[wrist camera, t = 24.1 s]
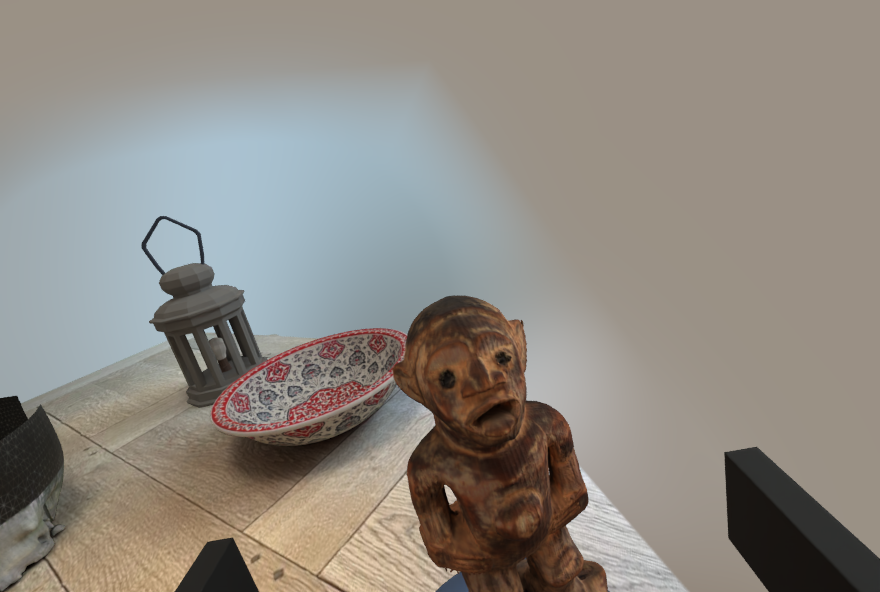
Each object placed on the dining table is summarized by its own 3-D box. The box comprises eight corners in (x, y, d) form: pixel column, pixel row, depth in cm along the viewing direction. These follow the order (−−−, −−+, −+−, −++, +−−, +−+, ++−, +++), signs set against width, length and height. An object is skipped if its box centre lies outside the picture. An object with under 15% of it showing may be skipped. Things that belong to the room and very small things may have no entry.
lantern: (270, 356, 96) (211, 206, 86) (278, 380, 81) (208, 202, 71) (191, 386, 89) (118, 228, 80) (184, 418, 75) (93, 228, 65)
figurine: (399, 745, 15) (248, 377, 11) (468, 574, 20) (386, 289, 16) (601, 854, 12) (497, 386, 7) (617, 616, 17) (564, 270, 13)
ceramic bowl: (395, 352, 80) (384, 314, 78) (458, 419, 54) (444, 365, 52) (238, 413, 71) (220, 373, 69) (222, 530, 45) (193, 470, 43)
